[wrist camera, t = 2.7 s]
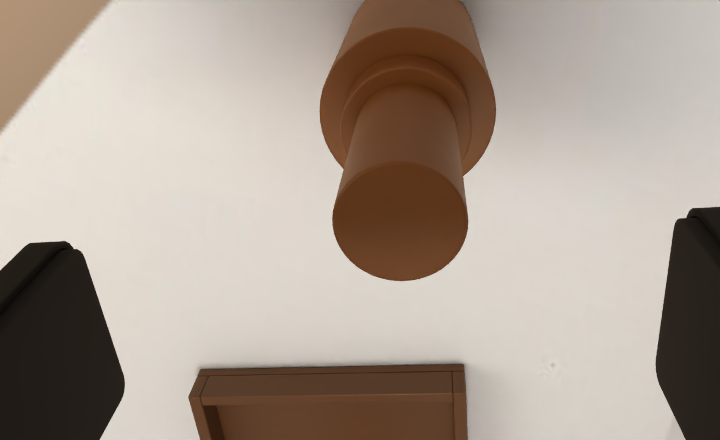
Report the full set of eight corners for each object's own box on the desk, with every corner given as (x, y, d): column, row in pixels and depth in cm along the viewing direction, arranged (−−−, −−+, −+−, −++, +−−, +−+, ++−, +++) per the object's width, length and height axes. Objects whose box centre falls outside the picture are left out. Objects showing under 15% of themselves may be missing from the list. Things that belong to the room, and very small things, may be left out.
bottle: (474, -27, 24) (531, 94, 11) (476, 102, 26) (525, 323, 14) (341, -15, 24) (255, 113, 12) (354, 110, 27) (294, 329, 14)
